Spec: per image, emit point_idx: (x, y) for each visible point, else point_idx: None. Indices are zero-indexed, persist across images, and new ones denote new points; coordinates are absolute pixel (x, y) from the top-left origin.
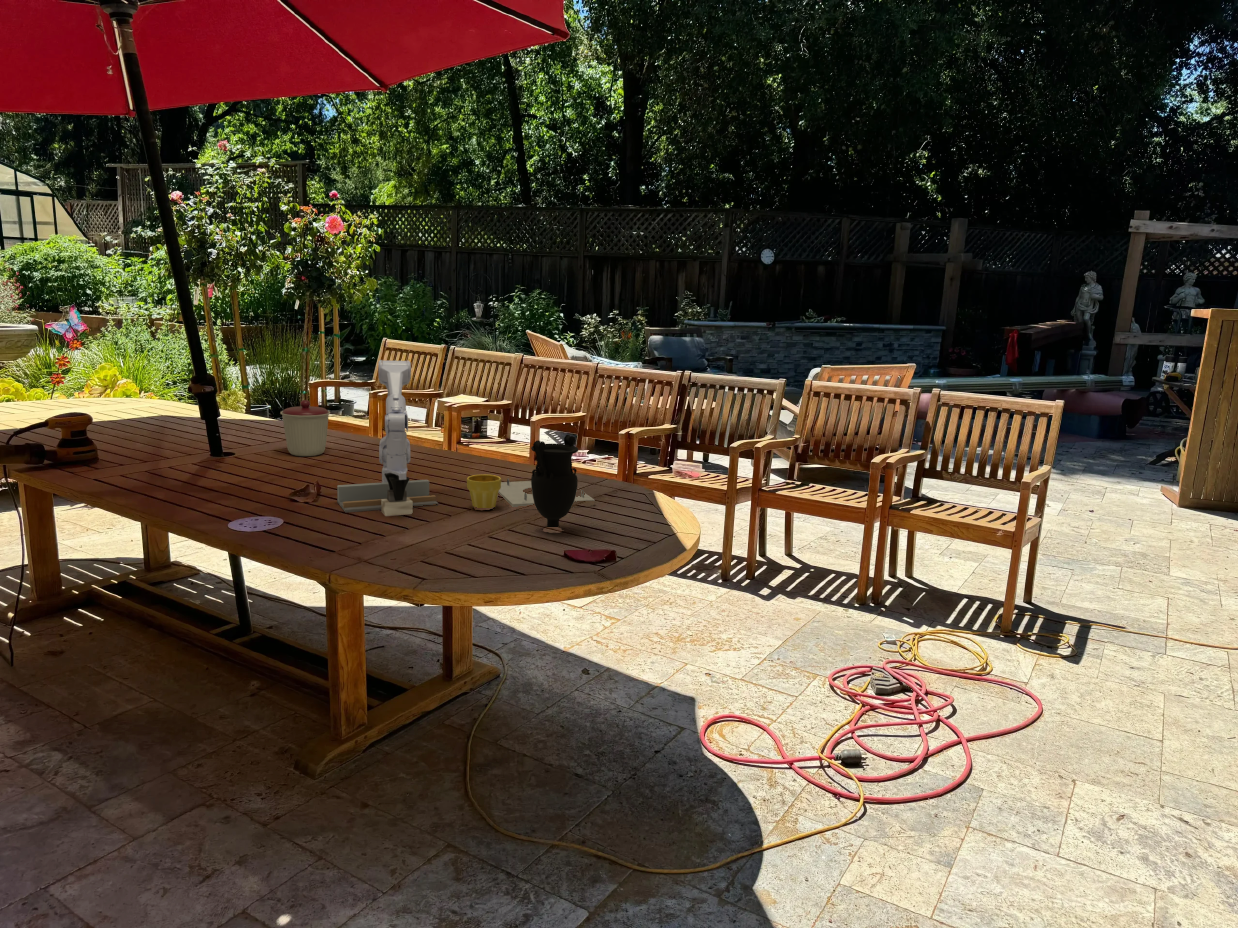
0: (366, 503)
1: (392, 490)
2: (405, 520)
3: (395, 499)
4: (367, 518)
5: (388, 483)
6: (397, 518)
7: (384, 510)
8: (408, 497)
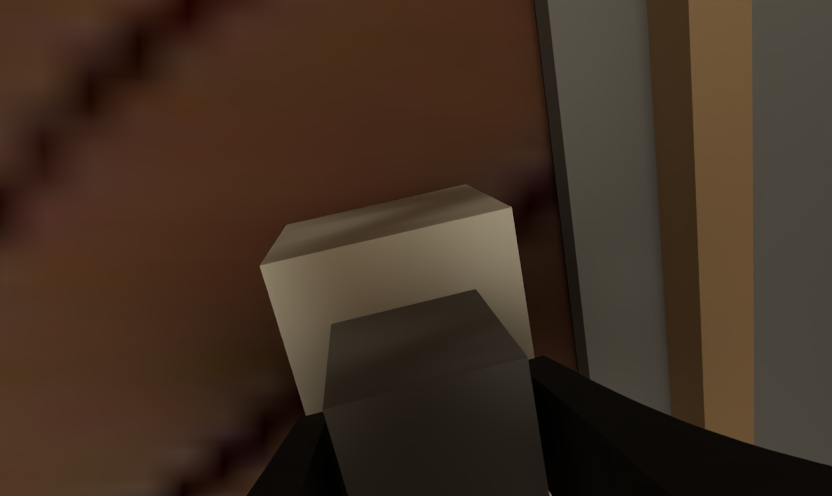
0: (668, 5)
1: (472, 451)
2: (98, 418)
3: (293, 426)
4: (185, 13)
5: (704, 447)
6: (182, 343)
7: (329, 224)
8: None
